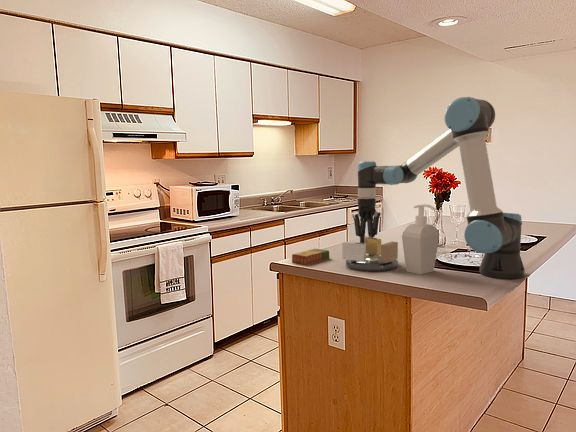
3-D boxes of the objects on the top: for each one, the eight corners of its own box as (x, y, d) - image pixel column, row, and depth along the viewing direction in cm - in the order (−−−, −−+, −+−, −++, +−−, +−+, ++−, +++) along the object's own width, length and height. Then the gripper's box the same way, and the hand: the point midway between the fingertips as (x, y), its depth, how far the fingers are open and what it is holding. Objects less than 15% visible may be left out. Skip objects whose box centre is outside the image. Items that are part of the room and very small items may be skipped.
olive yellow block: (381, 257, 187) (381, 239, 186) (376, 258, 186) (376, 239, 185) (366, 253, 195) (366, 236, 194) (361, 254, 193) (361, 236, 192)
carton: (291, 263, 191) (291, 253, 190) (315, 257, 203) (314, 247, 202) (306, 266, 185) (306, 256, 185) (329, 259, 197) (329, 249, 196)
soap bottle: (423, 276, 164) (425, 206, 161) (401, 271, 172) (402, 205, 169) (442, 271, 172) (444, 204, 168) (420, 266, 179) (421, 202, 176)
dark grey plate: (405, 270, 174) (405, 263, 173) (353, 272, 171) (353, 265, 171) (387, 258, 194) (387, 252, 194) (340, 260, 192) (340, 254, 192)
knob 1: (365, 262, 179) (365, 243, 178) (364, 263, 177) (364, 244, 176) (344, 260, 183) (344, 241, 182) (342, 261, 181) (342, 242, 180)
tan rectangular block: (391, 260, 182) (391, 241, 181) (397, 260, 180) (397, 242, 179) (380, 264, 175) (381, 244, 174) (386, 265, 173) (387, 245, 172)
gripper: (376, 196, 197) (375, 248, 200) (346, 197, 191) (346, 252, 193) (386, 197, 190) (386, 251, 193) (356, 199, 184) (356, 255, 187)
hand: (366, 251), depth 193 cm, fingers closed on olive yellow block, 2 cm apart
